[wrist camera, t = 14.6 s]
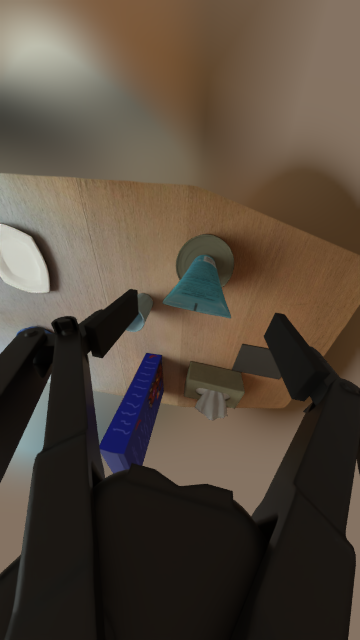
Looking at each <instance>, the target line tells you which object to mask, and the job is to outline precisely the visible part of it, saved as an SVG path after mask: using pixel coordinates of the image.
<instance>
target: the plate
mask: <svg viewBox="0 0 360 640" xmlns="http://www.w3.org/2000/svg"><path fill="white" fill-rule="evenodd" d="M0 277H1V278H2V279H3V281H4V282H5V283H7V284H9V285H11V286H13V287H16V288H18V289H21V290H23V291H26V292H30V293H46V292H50V279H49V272H48V268H47V265H46V263H45V260H44V258H43V256H42V254H41V252H40V250H39V249H38V247H37V245H36V243H35V241H34V240H33V238H32V237H31V236H29V235H28V234H26V233H24V232H22V231H19V230H17V229H15V228H13V227H10V226H7V225H4V224H0Z"/></svg>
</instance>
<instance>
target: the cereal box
mask: <svg viewBox="0 0 360 640" xmlns="http://www.w3.org/2000/svg"><path fill="white" fill-rule="evenodd" d="M163 392H164V388H163V371H162V355H156V354H149V353H146V355H145V357H144V359H143V360H142V362H141V364H140V366H139V368H138V370H137V372H136V374H135V376H134V378H133V380H132V382H131V384H130V386H129V388H128V390H127V392H126V394H125V396H124V398H123V400H122V402H121V404H120V406H119V408H118V410H117V412H116V414H115V416H114V418H113V420H112V422H111V424H110V426H109V427H108V429H107V432H106V433H105V435H104V437H103V439H102V441H101V443H100V445H99V447H100V452H101V454H102V456H103V457H104V459H105V461H106V462H107V464H108V466H109V467H110V469H111V471H112V472H113V474H114V473H116V472H118V471H122V470H127V469H130V466H131V463H134V464H138V465H141V466H142V465H143V461H144V458H145V454H146V451H147V447H148V444H149V440H150V437H151V433H152V430H153V426H154V423H155V419H156V416H157V413H158V409H159V406H160V402H161V399H162V395H163Z"/></svg>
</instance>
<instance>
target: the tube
mask: <svg viewBox="0 0 360 640" xmlns="http://www.w3.org/2000/svg"><path fill="white" fill-rule="evenodd" d="M163 304H165V305H170V306H174V307H178V308H182V309H187V310H191V311H196V312H200V313H205V314H209V315H215V316H222V317H226V318H231V315H230V312H229V310H228V307H227V304H226V301H225V298H224V295H223V292H222V288H221V284H220V281H219V277H218V273H217V268H216V264H215V261H214V260H213V258H212V257H210V256H208V255H200V256H198V257H197V258H195V260H194V261H193V263H192V264H191V266H190V267H189V269H188V270H187V272H186V273H185V275H184V276H183V277H182V279H181V280H180V281H179V283H178V284H177V285H176V286H175V287H174V289H173V290H172V291H171V292H170V293H169V294H168V295H167V296H166V298H165V299H164V300H163Z"/></svg>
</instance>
